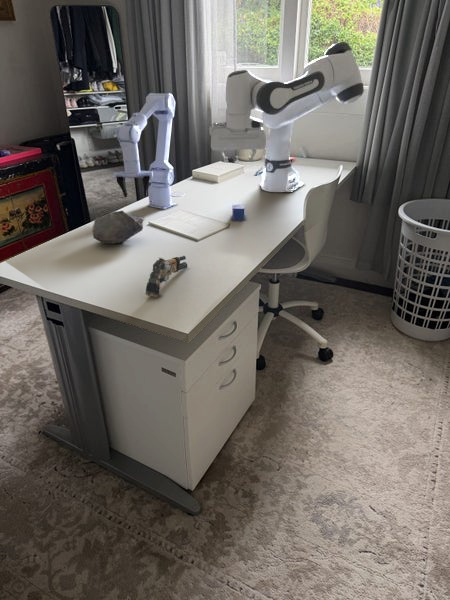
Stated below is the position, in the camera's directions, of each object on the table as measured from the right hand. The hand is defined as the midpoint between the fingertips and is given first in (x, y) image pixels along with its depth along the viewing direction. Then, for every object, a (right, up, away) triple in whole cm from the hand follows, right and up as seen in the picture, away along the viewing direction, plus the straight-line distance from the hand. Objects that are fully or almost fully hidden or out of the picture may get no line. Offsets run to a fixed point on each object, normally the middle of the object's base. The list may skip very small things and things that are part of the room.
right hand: (238, 162), depth 157 cm
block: (0, -19, +11) cm, 22 cm away
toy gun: (-21, -47, -36) cm, 63 cm away
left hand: (-40, -11, +7) cm, 42 cm away
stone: (-42, -31, -9) cm, 53 cm away
